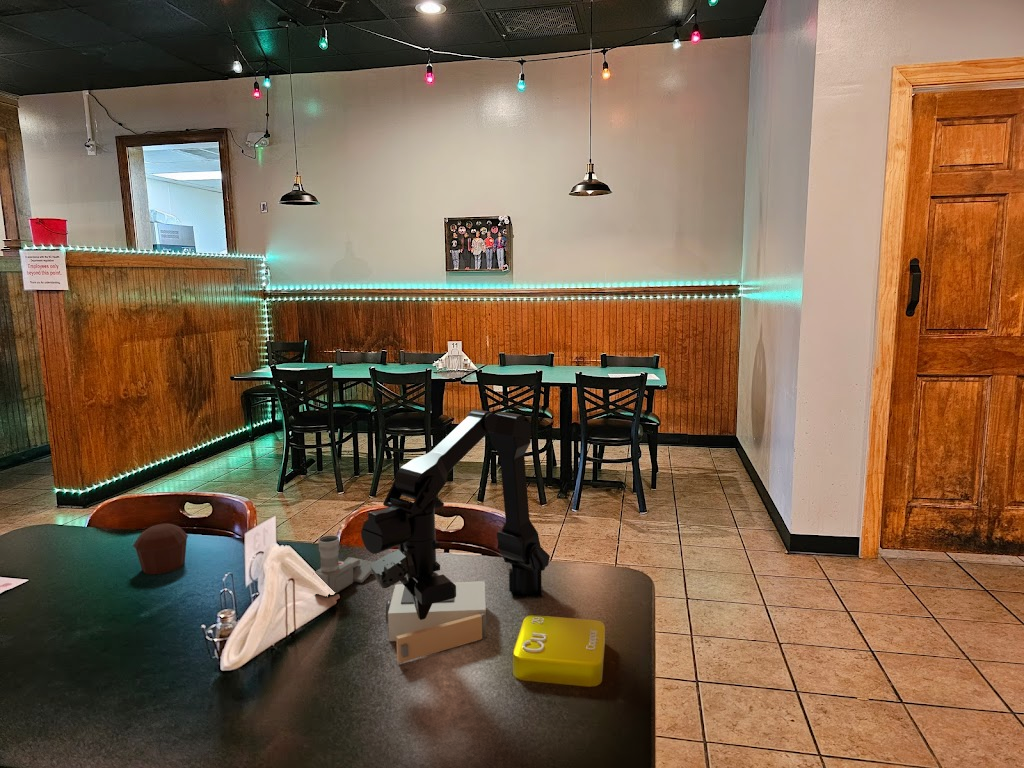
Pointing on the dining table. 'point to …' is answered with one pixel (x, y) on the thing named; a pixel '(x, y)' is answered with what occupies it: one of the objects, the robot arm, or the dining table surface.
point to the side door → (440, 637)
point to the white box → (433, 608)
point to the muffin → (161, 548)
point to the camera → (340, 565)
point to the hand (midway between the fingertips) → (422, 618)
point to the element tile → (560, 651)
